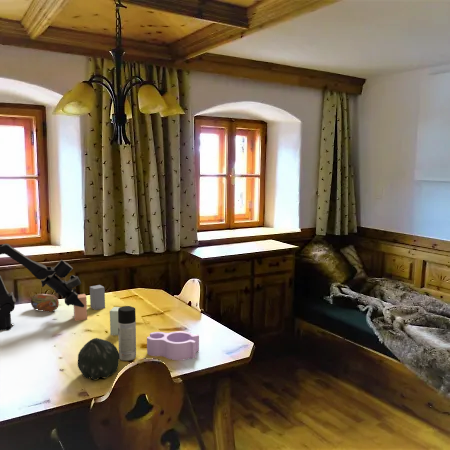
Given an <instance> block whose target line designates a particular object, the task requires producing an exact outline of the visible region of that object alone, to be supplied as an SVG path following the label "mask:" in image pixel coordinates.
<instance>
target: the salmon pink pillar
mask: <svg viewBox="0 0 450 450" xmlns="http://www.w3.org/2000/svg"><path fill="white" fill-rule="evenodd" d="M78 299H79V300H80V301H81V302H82V303H83V304H84V307H79V306H74V305H73V318H74V321H75V322H76V321H77V322H78V321H83V320H85V321H86V320H88V309H87V308H88V305H87V303H88V302H87V301H88V300H87V295H86V294H85V293H81V294H78Z"/></svg>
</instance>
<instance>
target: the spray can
mask: <svg viewBox="0 0 450 450" xmlns="http://www.w3.org/2000/svg"><path fill="white" fill-rule="evenodd" d="M119 307H120V308H119V309H118V335H117V336H118V352H119V357H120V358H119V361H123V362H130V361H132V360H134V359H136V357H137V327H136V326H137V320H136V319H137V318H136V317H137V316H136V307H134V306H131V305H125V306H119Z"/></svg>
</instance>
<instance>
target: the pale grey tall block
mask: <svg viewBox="0 0 450 450" xmlns="http://www.w3.org/2000/svg"><path fill="white" fill-rule="evenodd" d="M120 307H121V306H114V307H112V308H111V309H110V310H109V327H110V329H109V330H110V332H109V333H110V336H118V309H119V308H120Z"/></svg>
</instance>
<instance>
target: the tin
mask: <svg viewBox="0 0 450 450" xmlns="http://www.w3.org/2000/svg"><path fill="white" fill-rule="evenodd" d="M59 304H60V302H59V299H58V297H57V296H56V295H54V294H50V293H49V294H46V293H38V294H36V293H35V294H34V295H33V296H31V299H30V305H31V307H32V309H34V310H35V309H38V310H43V311H42V312H46V311H49V312H48V313H52V312H54V311H56V310H57V309H58V308H59Z"/></svg>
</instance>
